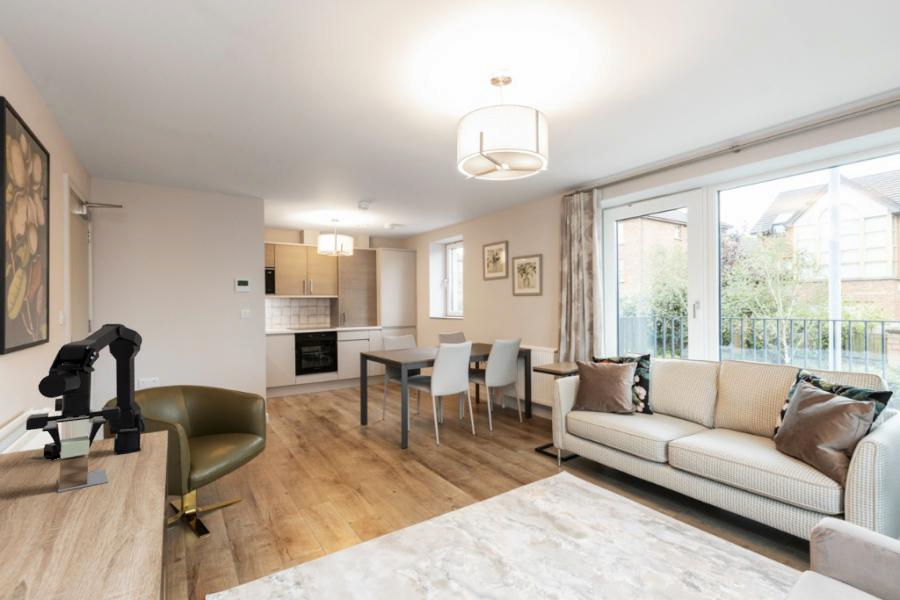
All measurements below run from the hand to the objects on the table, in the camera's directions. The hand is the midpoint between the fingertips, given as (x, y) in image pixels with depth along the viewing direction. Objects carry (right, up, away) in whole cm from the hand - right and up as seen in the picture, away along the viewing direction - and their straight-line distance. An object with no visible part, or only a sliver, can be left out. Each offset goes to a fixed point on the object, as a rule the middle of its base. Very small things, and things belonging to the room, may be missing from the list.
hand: (74, 449), depth 114 cm
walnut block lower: (0, -9, 0) cm, 9 cm away
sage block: (0, -1, 0) cm, 1 cm away
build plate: (-27, -11, +22) cm, 36 cm away
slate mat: (0, -9, +2) cm, 10 cm away
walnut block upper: (0, -5, 0) cm, 5 cm away
